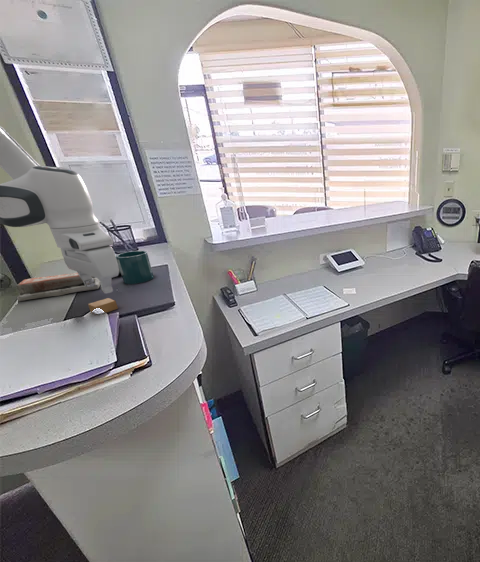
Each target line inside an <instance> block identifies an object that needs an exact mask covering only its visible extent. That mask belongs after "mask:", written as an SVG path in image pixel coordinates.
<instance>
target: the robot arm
mask: <svg viewBox="0 0 480 562" xmlns="http://www.w3.org/2000/svg"><path fill="white" fill-rule="evenodd" d="M0 168H1V169H2V170H3V171H4V172H5V173H6V174H7V175H8V176H9V177H10V178H11V179H12V180H8V181H6V182H2V183H0V224H1V225H3V226H7V227H11V228H27V227H33V226H39V225H44V224H47V225H48V226H49V229H50V231H51V234H52V237H53V240H54V242H55V245H56V246H57V248H59V249H60V252H61V254H62V258H63V260H64V263H65V265H66V267H67V268H68V269H69V270H72V271H75V272H76V273H78V275H79V276H80V277H81V279H82V280H83V282H84V285H85V286H87V287H92V286H95V281H94V279H92V277H91V276H93V278H98V280H99V281H100V283H101V285H100V287H99V288H100V290H101V293H103V294H111V293H113V291H114V289H113V286H112V282H113V279H112V278H115V277H118V276H119V275H120V274H119V268H118V264H117V260H116V254H115V251H114V248H113V247H112V246H113V245H114V240H113V238H112V237H111V235H110V234H108V233H107V232H106V231H104V229H103V228H102V227H101V224H100V220H99V219H98V217H96V215H95V212H94V203H93V200H92V197H91V194H90V192H89V190H88V187H87V186H86V184H85V182H84V179H83V178H82V176H81V175H80V174H79V172H77V171H75V170H73V169H70V168H67V167H61V166H50V165H41V164H39V163H38V161H36V159H35V158H33V156H31V154H29V153H28V151H27V150H26V149H24V147H23V146H22V145H21V144H19V142H18V141H17V140H16V139H15V138H14V137H13V136H12V135H11V134H10V133H9V132H8V131H7V130H6V129H5V128H4V127H2V126H1V125H0Z"/></svg>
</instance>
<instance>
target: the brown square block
mask: <svg viewBox="0 0 480 562" xmlns="http://www.w3.org/2000/svg"><path fill="white" fill-rule="evenodd" d="M87 305H88V308H89V311H90V313H92V311H93V310H94V309H96V308H100V309H102V310H103V311H104V312H106V313H105V314H107V313H110V312H112V311H115V310H118V309H119V307H118V304H117V301H116V300H115V299H112V298H110V297H107V298H103V299H99V300H96V301H94V302H93V301H92V302H89V303H87Z"/></svg>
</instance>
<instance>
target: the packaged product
mask: <svg viewBox="0 0 480 562" xmlns="http://www.w3.org/2000/svg"><path fill="white" fill-rule="evenodd" d="M91 277H92V279H94V281H95V286H92V287H87V286H85V285H84V282H83V280H82V279H81V277H80V276H79V275H78V273H77V272H74V273H73V272H72V273H65V274H57V275H56V274H55V275H48V276H41V277H32V278H27V279H26V278H25V279H23V280H22V281H20V282H19V283H18V284H17V285H16V290H17V291H18V293H19V294H18V295H17V297H16V299H17V301H18V302H22V301H23V302H24V301H29V300H35V299H42V298H50V297H58V296H63V295H67V294H73V293H80V292H85V291H93V290H99V288H100V287H101V283H100V281H99V280H98V278H96V277H93V276H91Z"/></svg>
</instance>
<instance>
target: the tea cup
mask: <svg viewBox="0 0 480 562" xmlns="http://www.w3.org/2000/svg"><path fill="white" fill-rule="evenodd" d="M115 257H116V259H117V262H118V265H119V268H120V272H121V274H120V275H121V278H122V281H123V283H124V284H126V285H136V284H141V283H146V282H148V281H151V280H153V279H154V278H155V276H154V272H153V269H152V265H151V261H150V258H149V255H148V251H147V250H132V251H126V252H121V253H118V254H115Z"/></svg>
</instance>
